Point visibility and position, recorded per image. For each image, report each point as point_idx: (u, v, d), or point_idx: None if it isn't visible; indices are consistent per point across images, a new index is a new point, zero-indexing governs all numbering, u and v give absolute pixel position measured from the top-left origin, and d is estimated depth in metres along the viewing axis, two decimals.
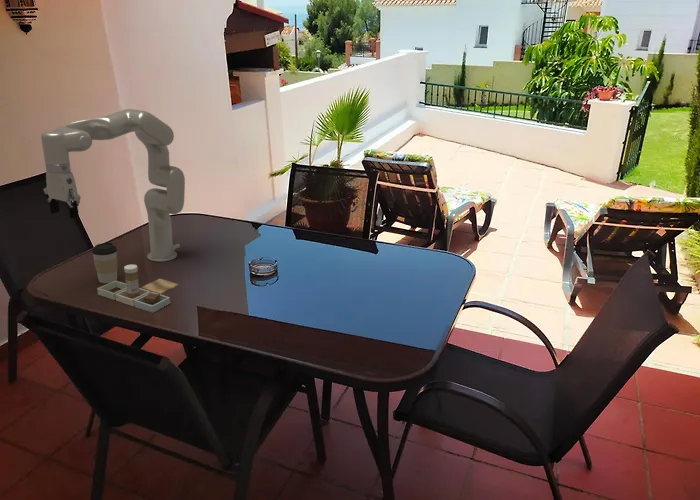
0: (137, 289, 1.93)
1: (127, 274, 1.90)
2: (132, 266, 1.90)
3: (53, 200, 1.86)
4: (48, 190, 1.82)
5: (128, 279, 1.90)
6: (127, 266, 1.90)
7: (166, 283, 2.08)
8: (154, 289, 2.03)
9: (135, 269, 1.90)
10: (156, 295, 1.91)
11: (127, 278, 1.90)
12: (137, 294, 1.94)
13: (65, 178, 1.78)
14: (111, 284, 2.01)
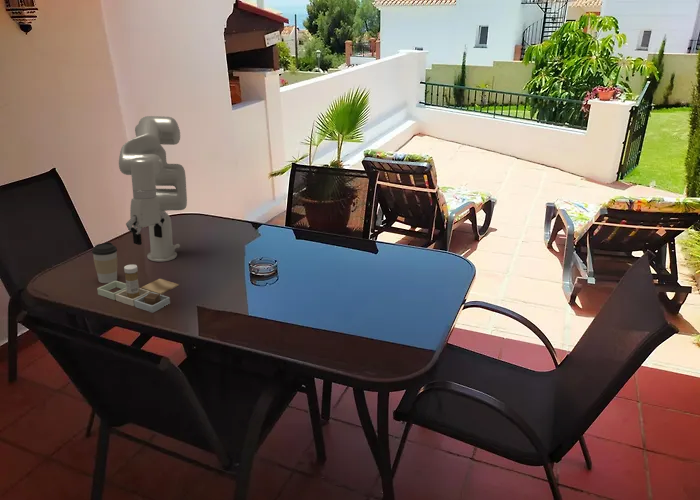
0: (137, 289, 1.93)
1: (127, 274, 1.90)
2: (132, 266, 1.90)
3: None
4: (142, 220, 1.78)
5: (128, 279, 1.90)
6: (127, 266, 1.90)
7: (166, 283, 2.08)
8: (154, 289, 2.03)
9: (135, 269, 1.90)
10: (156, 295, 1.91)
11: (127, 278, 1.90)
12: (137, 294, 1.94)
13: None
14: (111, 284, 2.01)
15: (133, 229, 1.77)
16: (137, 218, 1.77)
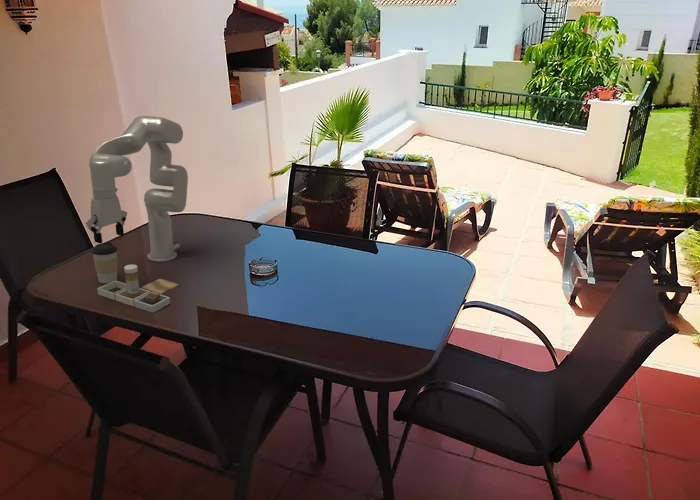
0: (137, 289, 1.93)
1: (127, 274, 1.90)
2: (132, 266, 1.90)
3: None
4: (102, 219, 1.84)
5: (128, 279, 1.90)
6: (127, 266, 1.90)
7: (166, 283, 2.08)
8: (154, 289, 2.03)
9: (135, 269, 1.90)
10: (156, 295, 1.91)
11: (127, 278, 1.90)
12: (137, 294, 1.94)
13: None
14: (111, 284, 2.01)
15: (93, 228, 1.83)
16: (97, 218, 1.83)
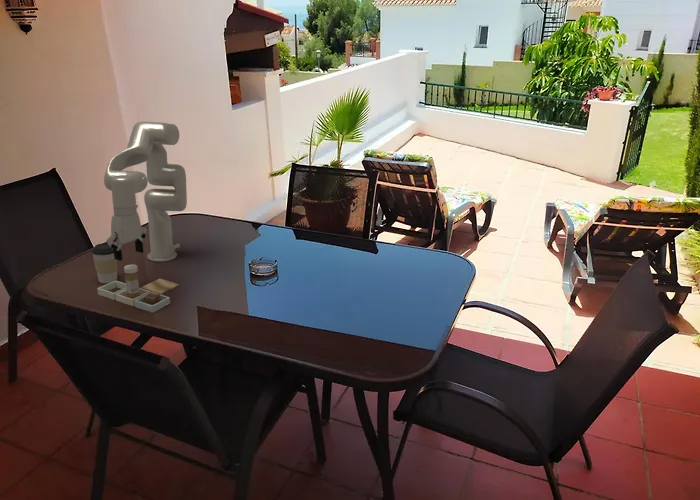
0: (137, 289, 1.93)
1: (127, 274, 1.90)
2: (132, 266, 1.90)
3: None
4: (123, 236, 1.81)
5: (128, 279, 1.90)
6: (127, 266, 1.90)
7: (166, 283, 2.08)
8: (154, 289, 2.03)
9: (135, 269, 1.90)
10: (156, 295, 1.91)
11: (127, 278, 1.90)
12: (137, 294, 1.94)
13: None
14: (111, 284, 2.01)
15: (113, 245, 1.80)
16: (117, 235, 1.81)
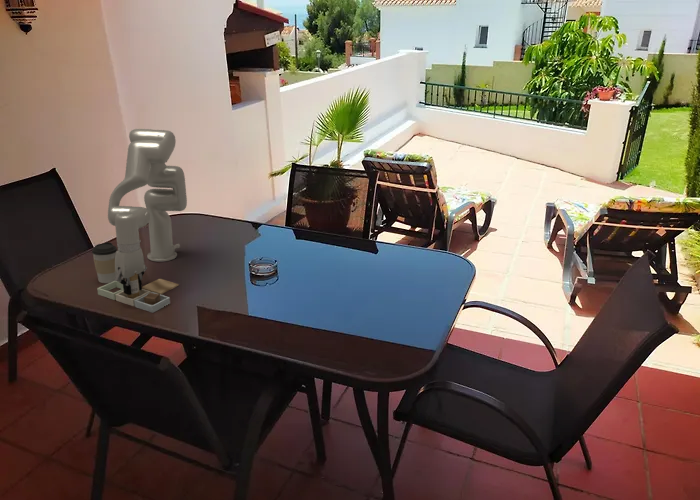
0: (137, 289, 1.93)
1: None
2: None
3: None
4: (126, 271, 1.87)
5: None
6: None
7: (166, 283, 2.08)
8: (154, 289, 2.03)
9: None
10: (156, 295, 1.91)
11: None
12: (137, 294, 1.94)
13: None
14: (111, 284, 2.01)
15: (123, 281, 1.88)
16: (121, 270, 1.86)
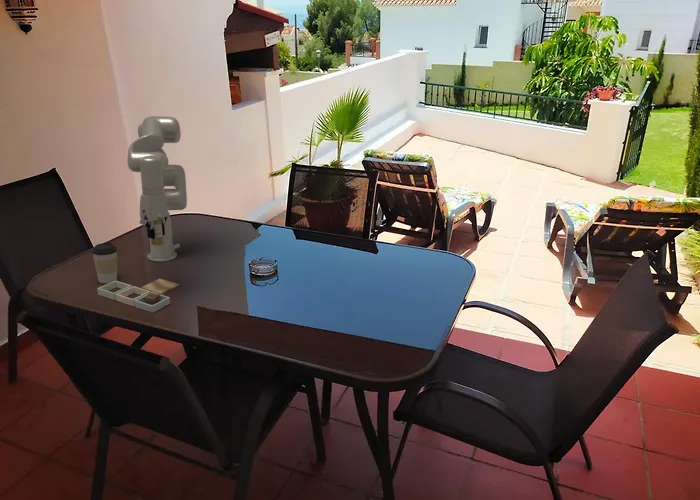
0: (161, 233, 1.97)
1: None
2: None
3: None
4: (151, 214, 1.91)
5: None
6: None
7: (166, 283, 2.08)
8: (154, 289, 2.03)
9: None
10: (156, 295, 1.91)
11: None
12: (160, 238, 1.98)
13: None
14: (111, 284, 2.01)
15: (147, 224, 1.92)
16: (146, 213, 1.90)
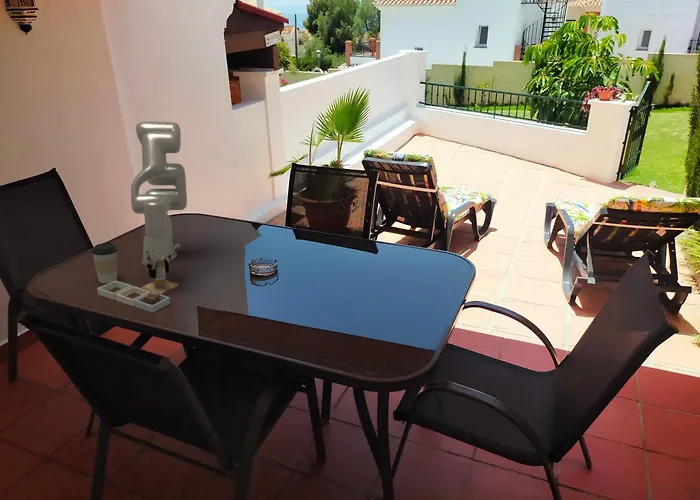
0: (164, 276, 2.04)
1: None
2: None
3: None
4: (154, 255, 1.97)
5: (156, 266, 2.01)
6: None
7: (166, 283, 2.08)
8: (154, 289, 2.03)
9: (162, 257, 2.01)
10: (156, 295, 1.91)
11: (155, 265, 2.01)
12: (163, 281, 2.04)
13: None
14: (111, 284, 2.01)
15: (149, 265, 1.97)
16: (149, 254, 1.96)
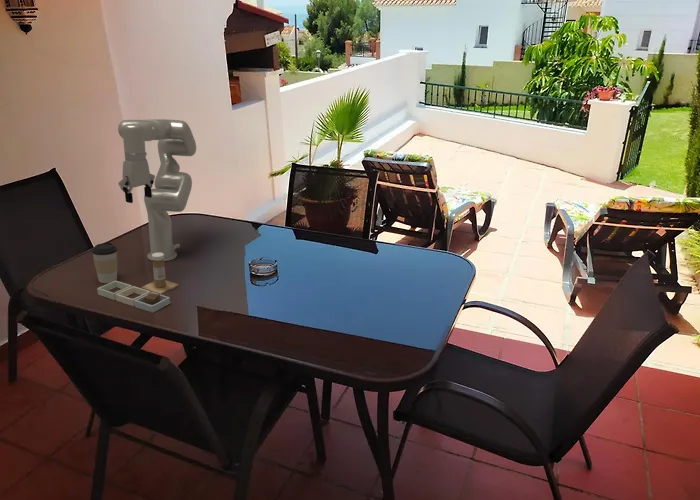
0: (163, 276, 2.04)
1: (154, 261, 2.00)
2: (159, 254, 2.01)
3: None
4: (133, 180, 1.98)
5: (155, 266, 2.01)
6: (154, 254, 2.01)
7: (166, 283, 2.08)
8: (154, 289, 2.03)
9: (162, 257, 2.01)
10: (156, 295, 1.91)
11: (154, 265, 2.01)
12: (163, 281, 2.04)
13: None
14: (111, 284, 2.01)
15: (125, 188, 1.97)
16: (128, 178, 1.97)
